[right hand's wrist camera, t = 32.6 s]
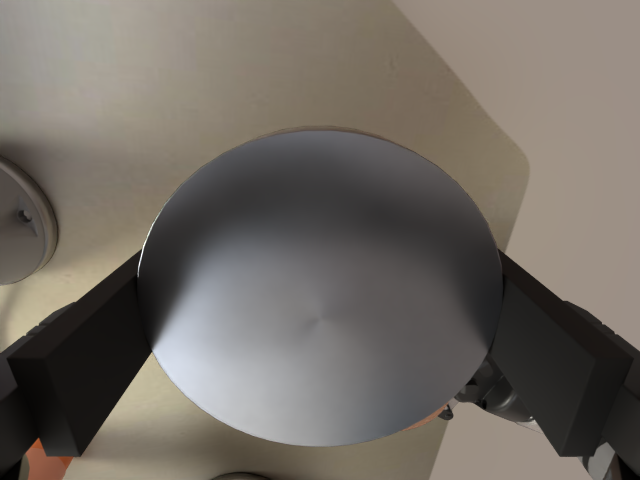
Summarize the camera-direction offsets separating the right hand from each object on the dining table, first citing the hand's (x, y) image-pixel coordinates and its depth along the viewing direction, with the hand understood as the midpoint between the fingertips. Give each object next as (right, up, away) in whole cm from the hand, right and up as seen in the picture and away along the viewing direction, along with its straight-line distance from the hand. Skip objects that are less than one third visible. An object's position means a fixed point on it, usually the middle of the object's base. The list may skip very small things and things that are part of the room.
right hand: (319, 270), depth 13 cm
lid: (0, -1, -3) cm, 3 cm away
